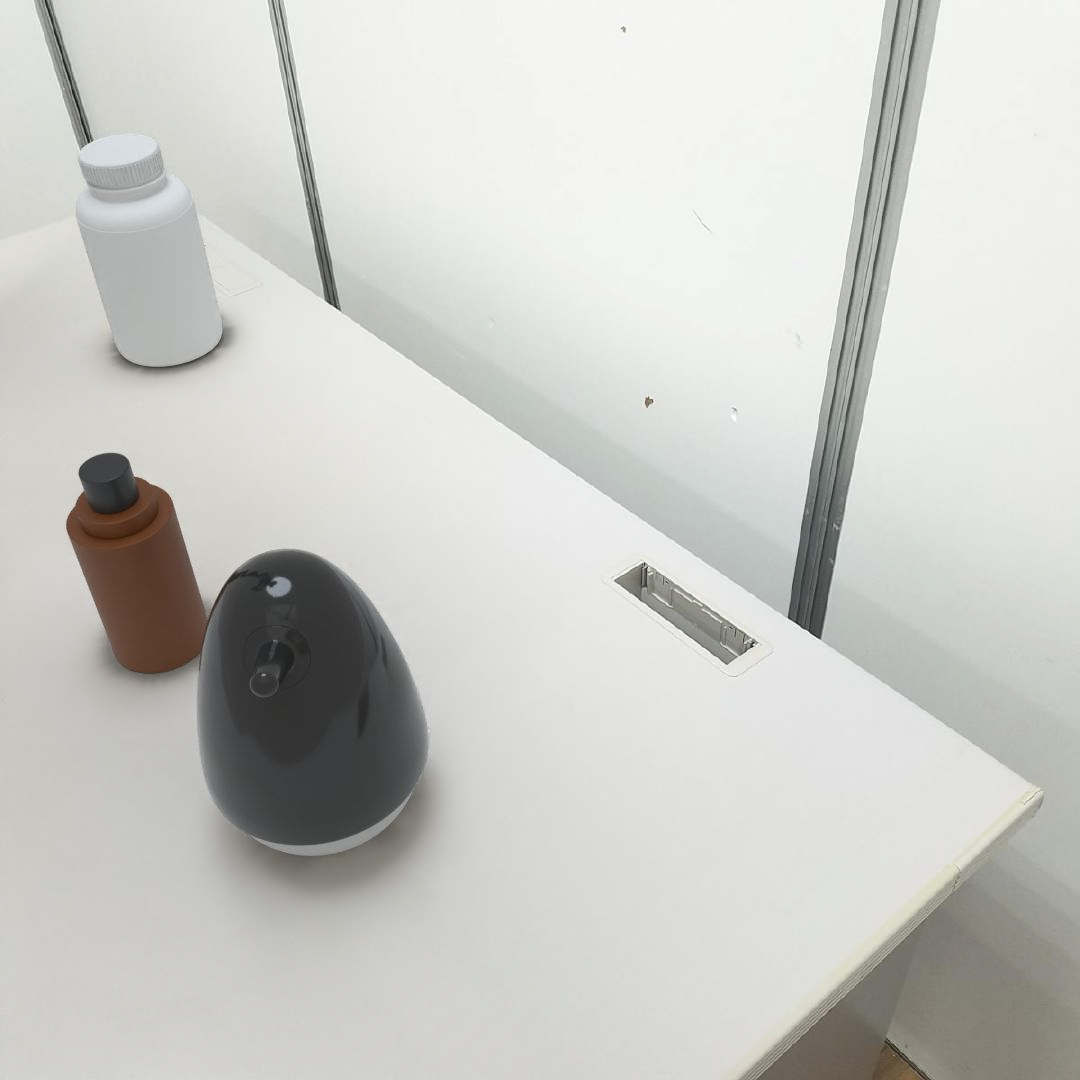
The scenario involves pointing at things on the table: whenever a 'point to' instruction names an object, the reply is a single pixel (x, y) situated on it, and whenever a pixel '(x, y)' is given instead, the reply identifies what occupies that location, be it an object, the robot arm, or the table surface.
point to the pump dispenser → (306, 707)
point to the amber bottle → (136, 566)
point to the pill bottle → (146, 253)
